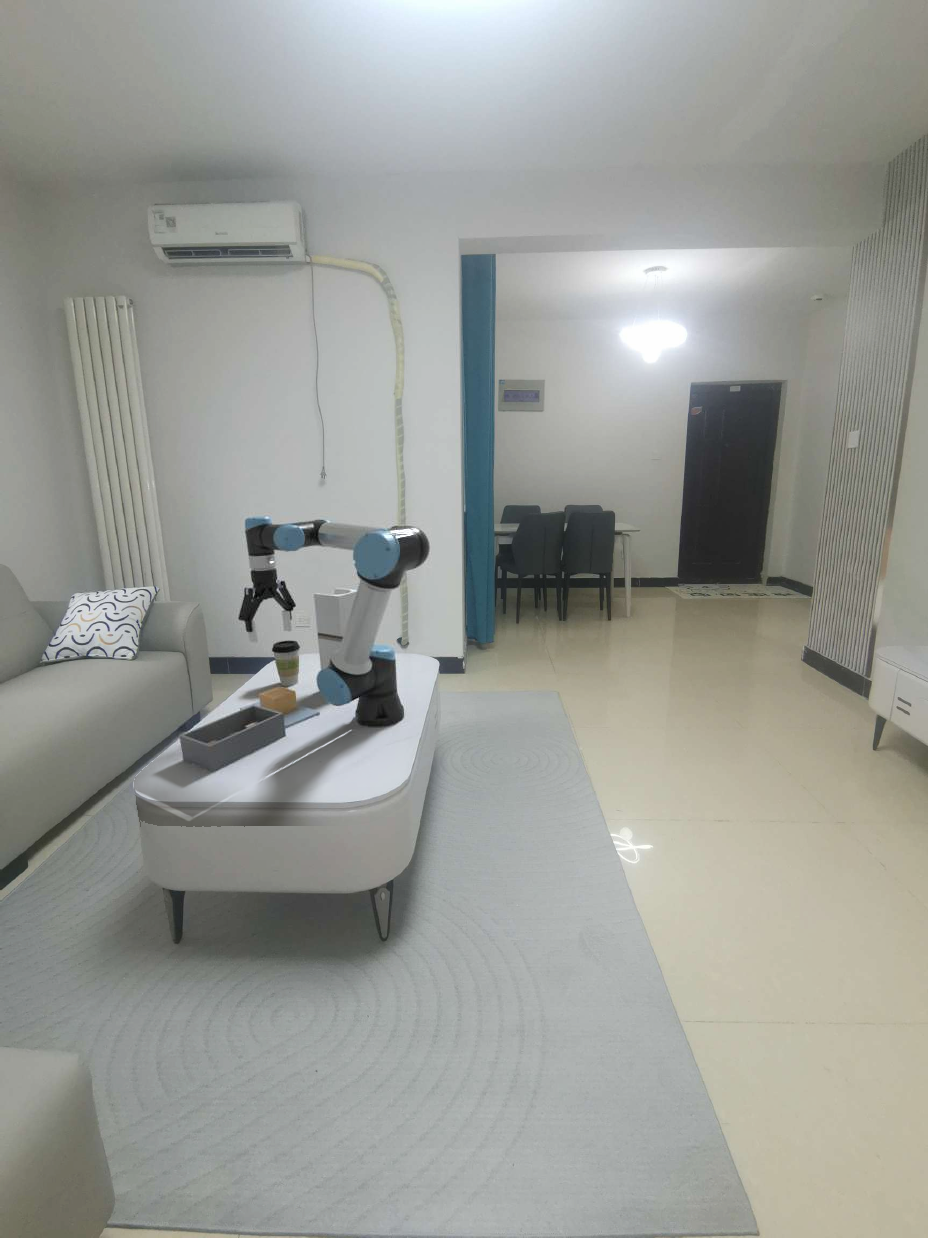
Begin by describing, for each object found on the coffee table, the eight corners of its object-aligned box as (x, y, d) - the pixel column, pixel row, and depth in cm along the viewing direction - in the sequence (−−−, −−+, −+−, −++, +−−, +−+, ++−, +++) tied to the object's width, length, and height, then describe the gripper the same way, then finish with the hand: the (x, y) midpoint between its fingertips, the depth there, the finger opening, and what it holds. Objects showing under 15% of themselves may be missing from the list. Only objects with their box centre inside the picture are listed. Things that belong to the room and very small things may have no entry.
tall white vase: (367, 685, 212) (360, 590, 203) (346, 695, 203) (338, 596, 194) (343, 680, 218) (336, 587, 209) (322, 689, 209) (313, 593, 200)
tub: (286, 738, 171) (283, 713, 169) (213, 775, 152) (209, 746, 150) (256, 729, 178) (253, 704, 176) (183, 763, 159) (179, 735, 157)
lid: (275, 701, 201) (272, 679, 199) (320, 717, 186) (317, 694, 184) (240, 714, 191) (237, 691, 189) (285, 732, 177) (282, 707, 175)
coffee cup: (278, 689, 210) (273, 649, 207) (273, 681, 219) (269, 642, 215) (306, 684, 215) (302, 645, 211) (300, 676, 223) (296, 638, 220)
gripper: (236, 576, 166) (246, 648, 171) (302, 563, 186) (309, 627, 191) (219, 574, 169) (229, 645, 175) (286, 561, 190) (293, 625, 195)
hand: (271, 636), depth 183 cm, fingers open, 13 cm apart
